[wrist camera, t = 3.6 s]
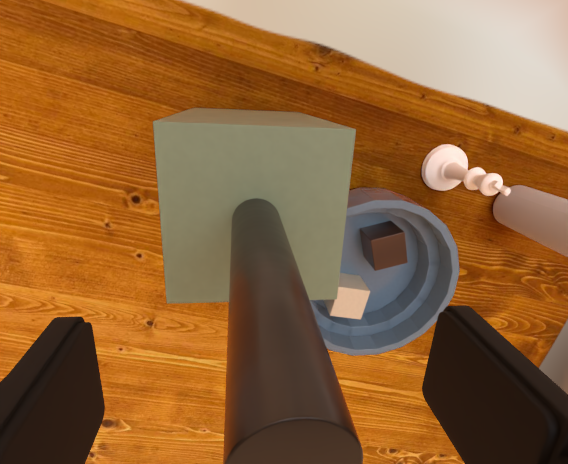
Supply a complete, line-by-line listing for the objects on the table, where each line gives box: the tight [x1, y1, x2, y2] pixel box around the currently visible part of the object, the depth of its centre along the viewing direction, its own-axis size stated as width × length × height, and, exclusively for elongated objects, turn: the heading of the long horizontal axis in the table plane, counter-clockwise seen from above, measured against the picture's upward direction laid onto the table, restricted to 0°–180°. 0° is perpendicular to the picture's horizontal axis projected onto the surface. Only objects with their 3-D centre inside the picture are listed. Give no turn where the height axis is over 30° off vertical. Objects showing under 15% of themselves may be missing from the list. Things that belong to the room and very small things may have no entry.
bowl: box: [310, 188, 459, 356], centre depth 39 cm, size 18×18×6 cm
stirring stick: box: [223, 198, 363, 464], centre depth 13 cm, size 3×3×14 cm
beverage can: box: [493, 185, 568, 257], centre depth 36 cm, size 5×5×12 cm
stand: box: [153, 108, 356, 303], centre depth 28 cm, size 10×10×18 cm
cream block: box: [324, 273, 370, 320], centre depth 40 cm, size 4×4×4 cm
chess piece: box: [422, 144, 511, 196], centre depth 34 cm, size 5×5×10 cm
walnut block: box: [360, 221, 408, 271], centre depth 39 cm, size 4×4×4 cm
